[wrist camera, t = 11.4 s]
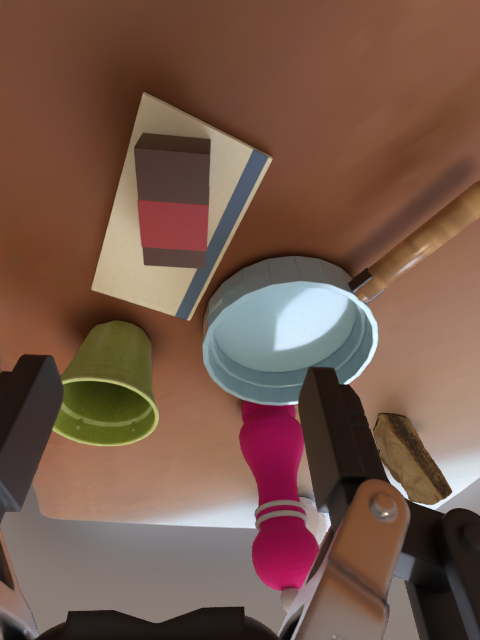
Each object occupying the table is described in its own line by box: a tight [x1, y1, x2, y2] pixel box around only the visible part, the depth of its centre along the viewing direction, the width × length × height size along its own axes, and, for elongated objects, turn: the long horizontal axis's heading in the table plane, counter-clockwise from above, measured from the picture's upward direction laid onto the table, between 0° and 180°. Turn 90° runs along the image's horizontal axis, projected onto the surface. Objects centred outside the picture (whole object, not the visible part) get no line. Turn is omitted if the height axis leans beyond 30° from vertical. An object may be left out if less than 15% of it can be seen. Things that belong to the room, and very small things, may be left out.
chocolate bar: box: [134, 133, 211, 269], centre depth 25 cm, size 8×4×3 cm, turn 174°
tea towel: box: [91, 92, 272, 321], centre depth 28 cm, size 16×9×1 cm, turn 154°
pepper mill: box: [239, 400, 319, 612], centre depth 37 cm, size 7×7×20 cm
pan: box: [202, 256, 378, 406], centre depth 34 cm, size 15×16×4 cm
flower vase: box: [299, 497, 327, 591], centre depth 54 cm, size 13×18×25 cm
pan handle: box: [348, 180, 480, 304], centre depth 26 cm, size 12×2×2 cm, turn 139°
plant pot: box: [52, 320, 159, 446], centre depth 33 cm, size 9×9×9 cm
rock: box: [374, 414, 452, 505], centre depth 48 cm, size 11×9×10 cm
